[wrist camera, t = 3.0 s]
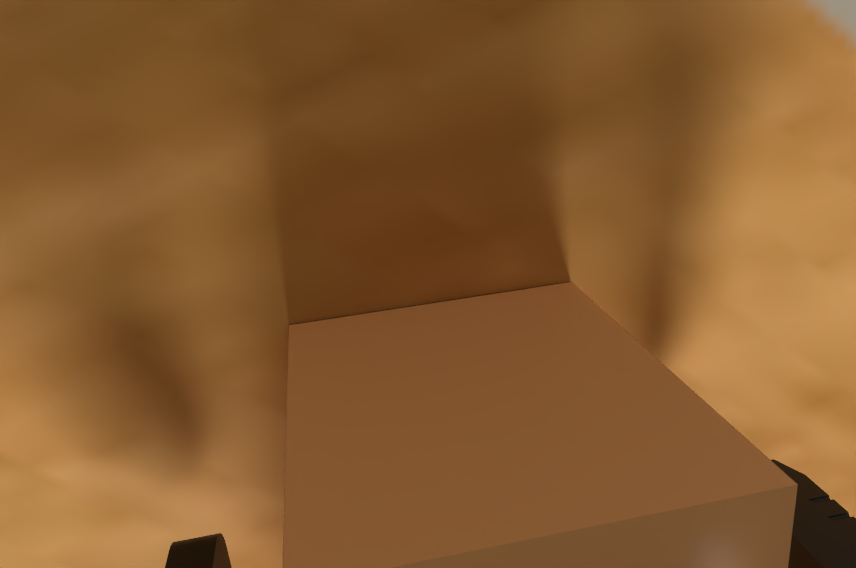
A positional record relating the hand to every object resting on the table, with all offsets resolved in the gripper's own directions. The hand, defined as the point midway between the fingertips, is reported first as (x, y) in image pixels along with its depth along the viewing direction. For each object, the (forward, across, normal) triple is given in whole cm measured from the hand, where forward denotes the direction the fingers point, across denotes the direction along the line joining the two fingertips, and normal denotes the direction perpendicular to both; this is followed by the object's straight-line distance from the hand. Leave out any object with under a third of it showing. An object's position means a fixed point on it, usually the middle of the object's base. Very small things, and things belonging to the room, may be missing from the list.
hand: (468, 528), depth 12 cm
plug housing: (+2, 0, 0) cm, 2 cm away
